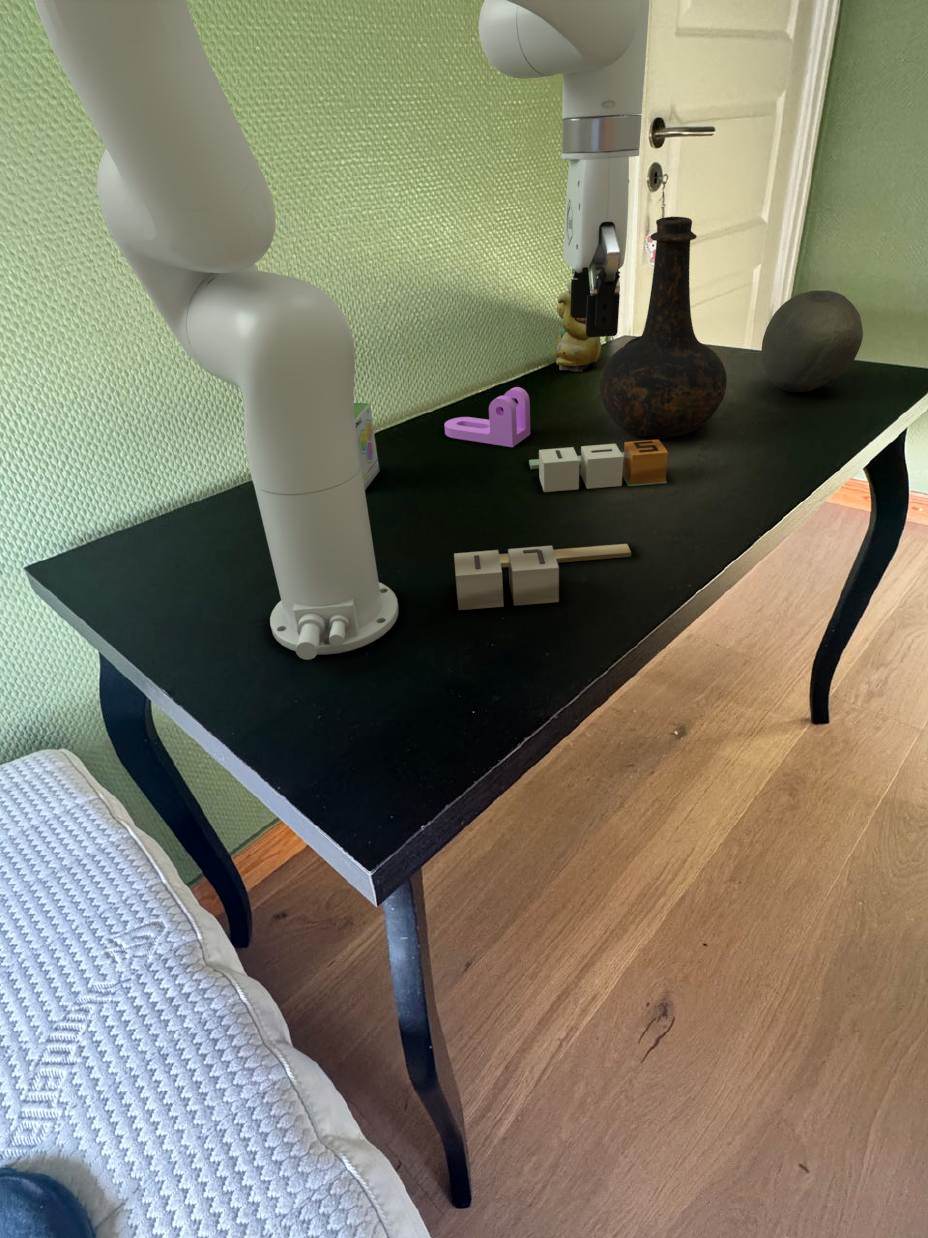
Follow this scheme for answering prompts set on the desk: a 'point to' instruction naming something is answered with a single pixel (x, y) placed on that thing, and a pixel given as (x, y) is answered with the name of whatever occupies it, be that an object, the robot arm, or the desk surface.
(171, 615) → the desk surface
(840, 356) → the dark grey rounded piece
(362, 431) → the ink box
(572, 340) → the decorative figurine
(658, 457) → the orange-brown block
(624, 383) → the brown bottle
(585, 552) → the front word
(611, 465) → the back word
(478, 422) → the bracket
